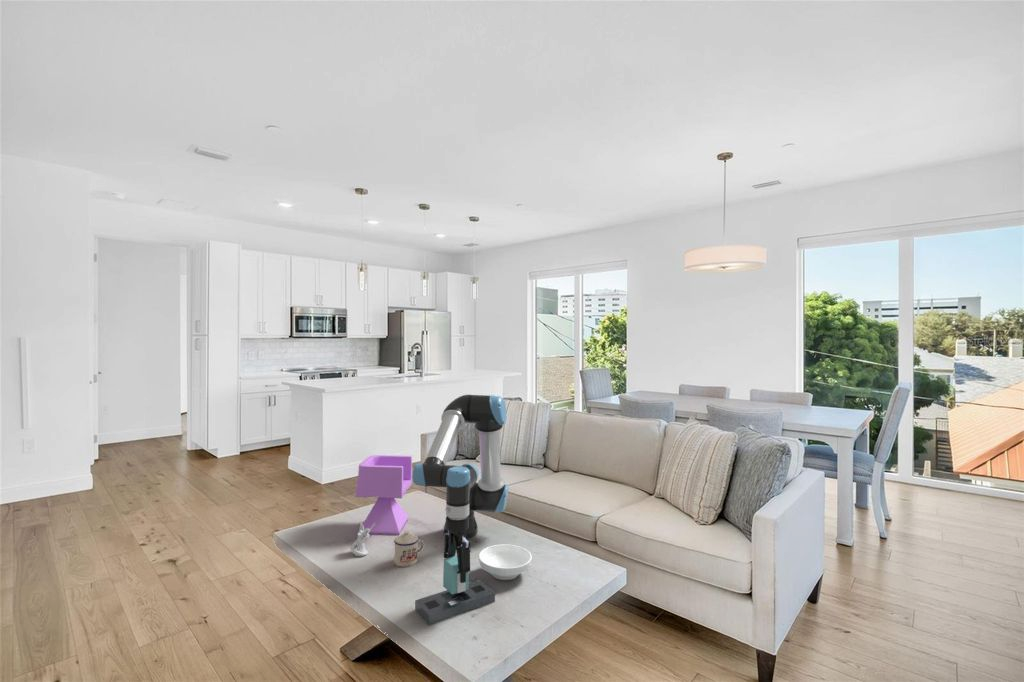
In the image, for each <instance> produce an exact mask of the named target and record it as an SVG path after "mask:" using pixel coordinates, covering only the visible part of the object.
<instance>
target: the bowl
mask: <svg viewBox="0 0 1024 682" xmlns="http://www.w3.org/2000/svg"><path fill="white" fill-rule="evenodd" d="M532 560H533V557H532V554H531V552H530V551H529V550H528V549H526V548H524V547H523V546H519V545H515V544H509V543H508V544H506V543H504V544H495V545H490V546H488V547H485V548H483V549H482V550H481V551H480V552H479V553H478V561H479V565H480V567H481V568H482V569H483V570H484V571H485V572H487V573H489V574H490V575H491V576H492V577H494V578H495V579H497V580H500V581H501V580H502V581H511V580H514V579H516V578H517V577H518V576H519V575H520V574H522V573H524V572H526V571H528V569H530V567H531V564H532Z"/></svg>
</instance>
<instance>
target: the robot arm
mask: <svg viewBox="0 0 1024 682" xmlns="http://www.w3.org/2000/svg"><path fill="white" fill-rule="evenodd" d="M440 419H441V423H440V425H439V426H438V427H439V428H438V430H437V432H436V434H435V436H434V438H433V441H432V444H431V446H430V447H429V451H428V453H427V454H426V457H425V460H424V462H421V463H420V462H417V463H416V464H415V465H414V467H413V468H412V483H413V484H415V485H416V486H421V487H433V488H446V489H445V490H446V493H445V494H446V496H445V499H446V500H445V515H446V517H445V522H444V525H443V531H442V532H443V535H444V542H443V543H444V544H443V559H446V558H449V557H453V556H456V555H457V559H458V568H459V571H458V572H457V593H460V592H463V591H465V588H466V573H467V572H469V573H470V572H471V544H472V542H471V540H467V539H470V538H472V537H475V536H476V535H478V531H479V530H478V529H479V528H478V527H479V526H478V523H477V520H476V516H475V511H476V512H477V511H478V512H488V513H489V512H491V513H493V514H495V513H503V512H504V511H505V510H506V506H507V500H508V495H509V485H507V484H505V480H504V478H503V477H502V473H501V470H502V469H501V445H500V444H501V443H500V441H501V439H500V438H501V437H500V431H501V430H502V429H503V428H504V425H505V424H506V422H507V405H506V401H505V400H504V398H503V397H502V396H499V395H483V394H482V395H480V394H464V395H461V396H458V397H457V398H455V399H453V400H452V401H451V402H450V403H449V404H448V405H447V406H446V407H445V408H444V410H443V412H442V414H441V418H440ZM466 423H468V424H474V428H475V430H476V431H478V438H479V439H478V441H479V459H480V460H479V461H480V478H479V470H478V468H477V467H476V465H474V464H472V463H465V464H462V465H452V464H451V465H450V464H447V462H448V459H449V457H450V453H451V451H452V449H453V446H454V444H455V441H456V439H457V436H458V434H459V431H460V429H461V428H462V427H463V426H464V424H466ZM478 479H479V480H478ZM477 481H478V482H477Z"/></svg>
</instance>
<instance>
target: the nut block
mask: <svg viewBox="0 0 1024 682" xmlns="http://www.w3.org/2000/svg"><path fill="white" fill-rule="evenodd" d="M458 571H459V568H458V559H457V554H455V556H453V557H449V558H443V573H442V575H443V577H442V578H443V580H442V582H443V585H442V586H443V588H445V590H448V591H449V592H450V593H451V594H455V593H457V572H458ZM469 575H470V572H467V573H466V588H465V590H468V586H469V583H470V582H469V580H470V579H469V578H470V576H469Z"/></svg>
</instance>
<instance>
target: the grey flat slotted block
mask: <svg viewBox="0 0 1024 682" xmlns="http://www.w3.org/2000/svg"><path fill="white" fill-rule="evenodd" d="M458 598H461V600H462V601H459V602H457V603H454V604H451V603H449V602H450V601H453V600H455V599H458ZM494 601H495V602H496V592H495V591H494V590H492V589H491V587H489V586H488V585H486V584H485V583H484V582H483V581H482V580H481V579H477V580H474V581H472V582H469V586H468V590H465V591H463V592H460V593H455V594H451V593H450V592H449V591H448V590H447V589H445V590H443V591H440V592H436V593H434V594H431V595H426V596H425V597H421V598H418V599H416V600H414V611H416V613H417V614H418V615H419V616H420V618H422V619H423V621H424V622H425V623H426V625H428V626H432V625H434V624H437V623H440V622H442V621H445V620H448V619H451V618H453V617H456V616H458V615H461V614H463V613H464V614H465V613H467V612H470V611H472V610H475V609H478V608H480V607H483V605H484V606H487V605H490V604H492V603H494ZM486 604H487V605H486Z"/></svg>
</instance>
